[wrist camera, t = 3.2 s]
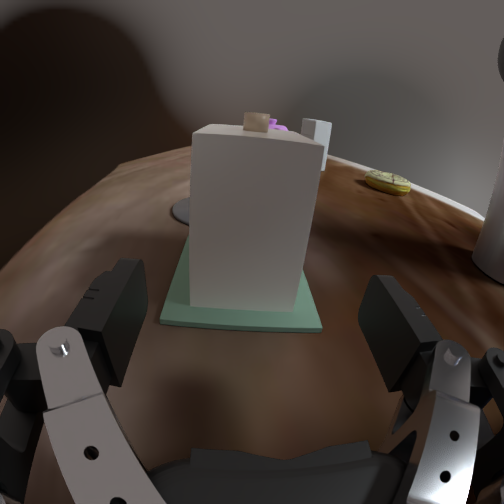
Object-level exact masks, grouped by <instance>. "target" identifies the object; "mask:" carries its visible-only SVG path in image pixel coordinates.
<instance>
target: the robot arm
mask: <svg viewBox="0 0 504 504" xmlns="http://www.w3.org/2000/svg"><path fill="white" fill-rule="evenodd" d="M498 68H499V72H500V75H501V77H502V79H503V81H504V38H503V40H502V42H501V45H500V49H499V54H498ZM472 260H473V262H474V263H475V264H476V265H477V266H478V267H479V268H480V269H481V270H482V271H483V272H484V273H486V274H487V275H489V276H490V277H491V278H493V279H495V280H496V281H498V282H500V283H502V284H504V141H503V147H502V153H501V159H500V163H499V168H498V172H497V177H496V181H495V185H494V189H493V193H492V197H491V200H490V204H489V207H488V211H487V214H486V217H485V220H484V223H483V226H482V229H481V232H480V235H479V238H478V241H477V243H476V246H475V249H474V251H473V254H472ZM147 306H148V296H147V288H146V280H145V271H144V263H143V261H142V260H141V259H129V258H120V259H119V261H118V262H117V264H116V265H115V267H114V268H113V270H112V271H105V272H104V273H102V274H101V275H100V276H98V277H97V278H95V280H94V281H93V282H92V284H91V285H90V287H89V290H87V291H86V293H85V294H84V296H83V298H82V299H81V300H80V302H79V303H78V305H77V306H76V308H75V310H74V311H73V313H72V314H71V316H70V318H69V319H68V321H67V322H66V324H65V326H61V327H56V328H53V329H50V330H48V331H47V332H45V333H44V334H43V335H42V336H41V337H40V338H39V340H38V342H37V343H22V344H16V342H15V340H14V338H13V336H12V334H11V333H10V332H9V331H7V330H4V329H0V402H1V400H2V398H3V395H5V396H6V397H7V401H6V404H5V406H4V409H3V411H2V413H1V416H0V504H24V498H25V493H26V488H27V483H28V478H29V474H30V470H31V466H32V462H33V458H34V454H35V450H36V447H37V443H38V440H39V436H40V433H41V430H42V427H43V423H44V422H45V425H46V429H47V432H48V435H49V439H50V442H51V445H52V448H53V451H54V454H55V456H56V459H57V462H58V464H59V467H60V470H61V472H62V475H63V477H64V479H65V482H66V484H67V486H68V489H69V491H70V493H71V495H72V497H73V500H74V502H75V504H467V503H466V499H467V495H468V491H469V487H470V483H471V482H472V485H473V489H474V492H475V496H476V500H477V502H475V503H473V504H504V423H503V427H502V429H501V431H500V432H499V433H498V434H497V435H496V436H494V434H493V432H492V430H491V427H490V425H489V423H488V420H487V418H486V416H485V414H484V412H483V410H482V409H483V408H484V406H485V405H486V404H487V403H488V402H489V401H490V400H491V399H492V398H494V400H495V402H496V404H497V406H498V408H499V410H500V412H501V414H502V416H503V420H504V351H502V350H500V349H498V348H490V349H488V350H487V352H486V353H485V355H484V356H483V358H482V359H479V358H471V357H470V356H469V354H468V352H467V351H466V350H465V348H464V347H462V346H461V345H460V344H458V343H456V342H454V341H451V340H443V339H442V338H441V336H440V335H439V333H438V332H437V330H436V329H435V327H434V326H433V324H432V323H431V322H430V320H429V319H428V317H427V316H425V313H424V312H423V310H422V309H421V308H420V306H419V305H418V303H417V302H416V300H415V299H414V298H413V297H412V296H411V295H410V294H408V293H407V292H406V291H405V290H403V289H402V287H401V286H400V285H399V283H398V282H397V281H396V279H395V278H394V277H393V276H386V275H373V276H372V277H371V278H370V281H369V283H368V286H367V289H366V292H365V295H364V297H363V300H362V303H361V305H360V308H359V312H358V322H359V325H360V328H361V330H362V332H363V334H364V336H365V339H366V341H367V343H368V345H369V347H370V350H371V352H372V354H373V356H374V359H375V361H376V363H377V366H378V368H379V370H380V373H381V375H382V377H383V380H384V382H385V385H386V387H387V389H388V392H395V391H401V390H402V392H403V395H402V396H401V398H400V399H399V402H398V405H397V408H396V410H395V413H394V416H393V419H392V422H391V424H390V427H389V430H388V432H387V435H386V437H385V440H384V441H383V443H382V445H381V446H380V448H379V449H378V451H371V450H370V447H369V443H368V440H366V441H361V442H355V443H349V444H342V445H335V446H329V447H326V448H323V449H321V450H318V451H315V452H312V453H309V454H306V455H303V456H300V457H297V458H293V459H290V460H280V459H274V458H269V457H264V456H259V455H254V454H249V453H245V452H241V451H229V450H211V449H198V448H191V458H186V459H180V460H176V461H171V462H168V463H165V464H162V465H160V466H158V467H156V468H153V469H152V470H150V471H148V470H147V469H146V467H145V466H144V464H143V463H142V461H141V459H140V458H139V456H138V454H137V453H136V451H135V450H134V448H133V446H132V444H131V443H130V441H129V439H128V437H127V436H126V434H125V432H124V430H123V428H122V426H121V424H120V422H119V420H118V418H117V416H116V414H115V412H114V410H113V408H112V406H111V404H110V402H109V400H108V398H107V396H106V393H107V390H108V387H109V385H112V386H117V387H121V385H122V382H123V379H124V376H125V373H126V370H127V367H128V364H129V361H130V358H131V355H132V352H133V349H134V346H135V343H136V340H137V338H138V335H139V332H140V329H141V327H142V324H143V321H144V318H145V316H146V312H147Z"/></svg>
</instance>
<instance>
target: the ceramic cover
mask: <svg viewBox="0 0 504 504" xmlns="http://www.w3.org/2000/svg"><path fill="white" fill-rule="evenodd" d="M269 119H270V114H262V113H251V112H245V114H244V125H243V126H234V125H219V124H210V125H208V126H206V127H204V128H202V129H200V130H198V131H196V132H194V133H193V136H192V153H191V176H190V210H189V280H190V306H193V307H205V308H219V309H234V310H252V311H274V312H293V309H294V305H295V300H296V296H297V291H298V287H299V282H300V278H301V273H302V269H303V264H304V259H305V254H306V249H307V244H308V239H309V234H310V229H311V224H312V219H313V213H314V208H315V202H316V197H317V191H318V185H319V180H320V174H321V167H322V161H323V155H324V149H325V146H324V145H322V144H320V143H317V142H315V141H313V140H311V139H309V138H307V137H305V136H302V135H300V134H298V133H295V132H292V131H285V130H277V129H268V128H269Z"/></svg>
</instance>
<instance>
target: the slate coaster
mask: <svg viewBox="0 0 504 504" xmlns="http://www.w3.org/2000/svg"><path fill="white" fill-rule="evenodd" d="M189 210H190V197H189V198H185V199H183V200H180V201H178V202H177V203H176V204H175V205H174V206H173V215H174V217H175V218H176V219H177V220H179V221H180V222H182V223H184V224H187V225H189Z"/></svg>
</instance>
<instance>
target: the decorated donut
mask: <svg viewBox="0 0 504 504" xmlns="http://www.w3.org/2000/svg"><path fill="white" fill-rule="evenodd" d="M365 178H366V183H367V184H368V185H369V186H371V187H373V188H374V189H377V190H379V191H382V192H385V193H388V194H392V195H396V196H404V195H406V194H407V193H408V192H409V191H410V186H411V184H410V182H409V181H408V180H406V179H404V178H402V177H400V176H398V175H394V174H392V173H387V172H382V171H378V170H370V171H368V172H367V173H366V174H365Z"/></svg>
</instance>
